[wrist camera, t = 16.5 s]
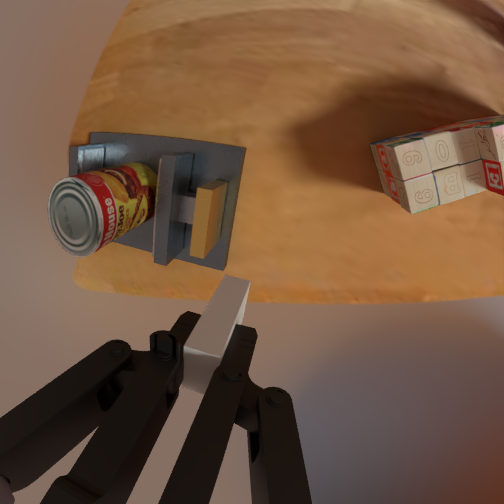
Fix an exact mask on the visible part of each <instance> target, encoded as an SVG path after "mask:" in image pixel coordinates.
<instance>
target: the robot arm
mask: <svg viewBox="0 0 504 504" xmlns="http://www.w3.org/2000/svg"><path fill="white" fill-rule="evenodd" d="M250 282H251V281H249V280H245V279H241V278H237V277H233V276H229V275H225V276H224V278H223V280H222V281H221V283H220V285H219V286H218V288H217V290H216V291H215V293H214V295H213V297H212V298H211V300H210V302H209V303H208V305H207V307H206V309H205V310H204V312H203V314H202V315H200V314H196V313H193V312H190V311H187V312H185V313H184V314H182V315H180V317H179V318H178V320H177V321H176V323H175V324H174V326H173V327H172V328H171V330H170V331H165V330H164V331H163V330H162V331H156V332H154V333H152V334H151V335H150V351H137V350H131V347H130V345H129V344H128V343H127V342H125V341H123V340H111V341H109V342H107V343H105V344H104V345H102V346H101V347H100V348H98V349H97V350H95V351H94V352H92V353H91V354H90V355H88V356H87V357H85V358H84V359H82V360H81V361H79V362H78V363H77V364H75V365H74V366H72V367H71V368H70V369H68V370H67V371H65V372H64V373H63V374H61V375H60V376H58V377H57V378H55V379H54V380H53V381H51V382H50V383H48V384H47V385H46V386H44V387H43V388H41V389H40V390H39V391H37V392H36V393H35V394H33V395H32V396H30V397H29V398H27V399H26V400H25V401H23V402H22V403H21V404H19V405H18V406H16V407H15V408H13V409H12V410H11V411H9V412H8V413H7V414H5V415H4V416H2V417H1V418H0V504H14V501H15V499H14V496H13V495H12V493H13V492H16V491H19V490H21V489H23V488H25V487H27V486H28V485H30V484H31V483H33V482H34V481H35V480H37V479H38V478H39V477H40V476H41V475H43V474H44V473H45V472H46V471H47V470H48V469H50V468H51V467H52V466H53V465H54V464H56V463H57V462H58V461H59V460H60V459H61V458H63V457H64V456H65V455H66V454H67V453H68V452H69V451H71V450H72V449H73V448H74V447H75V446H76V445H78V444H79V443H80V442H81V441H82V440H83V439H84V438H85V437H87V436H88V435H89V434H90V433H91V432H92V431H93V430H95V429H96V428H97V427H98V426H99V427H98V428H97V430H96V431H95V433H94V435H93V436H92V438H91V439H90V441H89V442H88V444H87V445H86V447H85V449H84V450H83V452H82V453H81V455H80V456H79V458H78V459H77V461H76V463H75V464H74V466H73V467H72V469H71V471H70V472H69V473H68V474H67V475H65V476H60V477H58V478H57V479H56V480H55V481H54V482H53V483H52V485H51V487H50V488H49V490H48V492H47V493H46V495H45V496H44V498H43V499H42V501H41V503H40V504H126V502H127V500H128V498H129V496H130V494H131V492H132V490H133V488H134V486H135V484H136V482H137V480H138V478H139V476H140V474H141V471H142V469H143V467H144V465H145V463H146V461H147V459H148V457H149V455H150V453H151V451H152V449H153V447H154V445H155V443H156V441H157V439H158V437H159V434H160V432H161V430H162V428H163V426H164V424H165V422H166V420H167V418H168V416H169V414H170V412H171V410H172V408H173V406H174V404H175V402H176V399H177V398H178V395H179V387H180V385H181V383H182V381H183V383H182V385H183V386H182V387H183V388H186V389H189V390H192V391H195V392H199V393H202V394H204V397H203V399H202V402H201V404H200V407H199V409H198V412H197V414H196V416H195V419H194V421H193V424H192V426H191V428H190V430H189V433H188V435H187V438H186V440H185V442H184V445H183V447H182V449H181V452H180V454H179V457H178V459H177V461H176V464H175V466H174V468H173V471H172V473H171V475H170V478H169V480H168V482H167V485H166V487H165V489H164V492H163V494H162V496H161V499H160V501H159V503H158V504H209V502H210V499H211V496H212V492H213V489H214V486H215V483H216V480H217V477H218V474H219V470H220V467H221V464H222V461H223V457H224V454H225V450H226V448H227V444H228V441H229V438H230V434H231V431H232V427H233V424H234V423H235V424H237V425H239V426H240V427H242V428H244V429H246V430H247V437H248V453H249V467H250V482H251V495H252V504H312V501H311V496H310V490H309V485H308V480H307V475H306V469H305V464H304V459H303V454H302V449H301V444H300V439H299V433H298V429H297V423H296V418H295V413H294V409H293V403H292V399H291V397H290V395H289V394H288V393H287V392H286V391H285V390H283V389H281V388H278V387H268V388H265V389H263V388H261V387H259V386H257V385H256V384H254V383H253V382H252V381H251V379H250V378H249V375H248V371H249V367H250V363H251V359H252V356H253V352H254V348H255V344H256V340H257V336H258V335H257V332H256V330H255V328H251V327H247V326H243V325H241V323H242V320H243V316H244V311H245V306H246V301H247V297H248V292H249V287H250Z"/></svg>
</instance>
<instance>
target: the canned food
mask: <svg viewBox="0 0 504 504" xmlns="http://www.w3.org/2000/svg"><path fill="white" fill-rule="evenodd" d="M157 180H158V177H157V175H156V174H155V172H154V171H153V170H152V169H151V168H150V167H148V166H147V165H145V164H142V163H138V162H132V163H126V164H121V165H117V166H112V167H107V168H103V169H98V170H94V171H90V172H85V173H81V174H77V175H73V176H69V177H66V178H64V179H61V180H60V181H58V182H57V183H56V184H55V185H54V187H53V189H52V191H51V193H50V196H49V200H48V219H49V223H50V227H51V230H52V232H53V234H54V236H55V238H56V240H57V241H58V243H59V244H60V246H61V247H62V248H63V249H65V250H66V251H67V252H69V253H70V254H72V255H73V256H77V257H87V256H89V255H91V254H93V253H94V252H96V251H97V250H99V249H101V248H102V247H104V246H105V245H107V244H109V243H110V242H112V241H114V240H115V239H117V238H119V237H120V236H122V235H124V234H125V233H127V232H129V231H130V230H132V229H134V228H136V227H137V226H139V225H141V224H143V223H144V222H146V221H148V220H150V219H151V218H152V217H153V216H154V215H155V202H156V190H157Z"/></svg>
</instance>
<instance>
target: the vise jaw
mask: <svg viewBox="0 0 504 504" xmlns="http://www.w3.org/2000/svg"><path fill="white" fill-rule="evenodd" d="M192 161H193V154H192V153H185V152H176V153H169V154H162V158H160V161H159V170H158V180H157V190H156V202H155V215H154V231H153V254H152V256H153V257H154V263H157V264H161V265H165V266H167V265H168V264H169V263H170V262H171V261H172V260H173V259H174V258H175V257H176V256H177V255H178V254H179V253H180V252H181V251H182V249H183V238H184V227H185V223H188V224H192V225H193V228H192V237H191V246H190V256H194V257H198V258H202V259H204V258H205V256H206V255H207V254H208V253H209V252H210V250H211V249H212V248H213V247H214V246H215V244H216V243H217V242H218V241H219V238H220V231H221V224H222V218H223V211H224V205H225V198H226V192H227V186H228V182H226V181H221V180H213V181H211V182H209V183H206V184H204V185H202V186H200V187H198V188H197V193H192V192H188V191H189V183H190V176H191V168H192Z"/></svg>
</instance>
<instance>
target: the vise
mask: <svg viewBox="0 0 504 504" xmlns="http://www.w3.org/2000/svg"><path fill="white" fill-rule="evenodd" d="M176 152H185V153H192V154H193V161H192V168H191V176H190V183H189V191H188V192H192V193H197V188H198V187H200V186H202V185H204V184H206V183H209V182H211V181H213V180H221V181H226V182H228V186H227V192H226V198H225V205H224V211H223V218H222V224H221V231H220V238H219V241H218V242H217V243H216V244H215V246H214V247H213V248H212V249H211V250H210V252H209V253H208V254H207V255H206V256H205V258H204V259H202V258H198V257H194V256H190V246H191V237H192V228H193V225H192V224H188V223H185V227H184V238H183V249H182V251H181V252H180V253H179V254H178V255H177V256H176V257H175V259H179V260H183V261H186V262H190V263H194V264H198V265H202V266H206V267H210V268H214V269H218V270H222V271H224V269H225V267H226V265H227V259H228V252H229V246H230V240H231V234H232V228H233V222H234V216H235V210H236V204H237V198H238V192H239V187H240V181H241V175H242V170H243V164H244V158H245V153H246V148H244V147H239V146H233V145H227V144H220V143H214V142H207V141H199V140H192V139H184V138H175V137H165V136H155V135H143V134H130V133H112V132H91V137H90V144H84V145H76V146H70V158H69V176H73V175H77V174H81V173H85V172H90V171H94V170H98V169H103V168H107V167H112V166H117V165H121V164H126V163H132V162H138V163H142V164H145V165H147V166H148V167H150V168H151V169H152V170H153V171H154V172H155V174H156V175H157V177H158V170H159V161H160V158H162V154H169V153H176ZM153 231H154V216H153V217H152V218H151V219H150V220H148V221H146V222H144V223H143V224H141V225H139V226H137V227H136V228H134V229H132V230H130V231H129V232H127V233H125V234H124V235H122V236H120V237H119V238H117V239H115V240H114V241H113V242H116V243H120V244H123V245H127V246H131V247H134V248H138V249H142V250H145V251H149V252H153Z"/></svg>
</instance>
